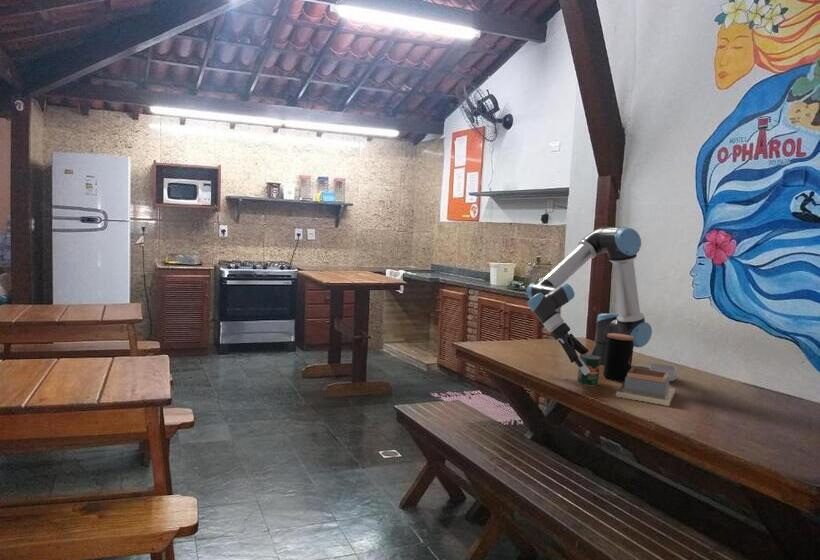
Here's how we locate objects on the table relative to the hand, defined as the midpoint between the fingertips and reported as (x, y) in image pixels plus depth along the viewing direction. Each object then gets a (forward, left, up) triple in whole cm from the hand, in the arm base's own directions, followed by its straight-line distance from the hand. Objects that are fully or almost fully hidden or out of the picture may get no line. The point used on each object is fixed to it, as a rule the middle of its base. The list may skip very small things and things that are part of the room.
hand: (591, 370), depth 236 cm
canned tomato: (0, -1, -6) cm, 6 cm away
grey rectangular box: (+2, +21, -5) cm, 22 cm away
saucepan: (-29, +19, -6) cm, 35 cm away
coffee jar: (-18, +7, -6) cm, 20 cm away
